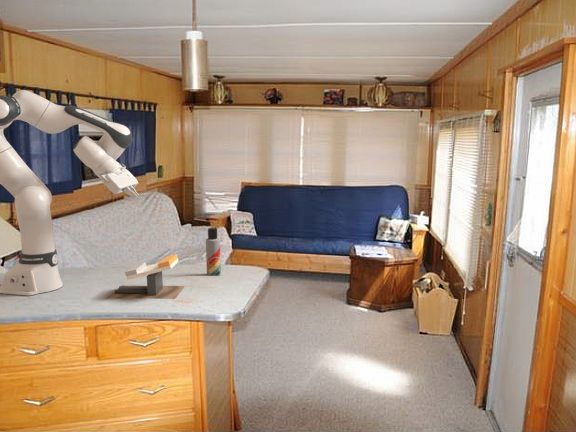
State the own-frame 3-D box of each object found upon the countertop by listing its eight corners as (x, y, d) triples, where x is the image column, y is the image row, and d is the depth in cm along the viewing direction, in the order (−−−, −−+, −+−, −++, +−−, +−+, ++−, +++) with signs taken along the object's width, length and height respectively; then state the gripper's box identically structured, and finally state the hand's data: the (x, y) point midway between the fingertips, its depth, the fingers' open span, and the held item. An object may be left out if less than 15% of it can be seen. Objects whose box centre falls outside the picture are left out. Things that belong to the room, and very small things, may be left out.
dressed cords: (114, 293, 173) (114, 290, 173) (120, 289, 178) (120, 285, 178) (148, 294, 173) (148, 290, 172) (153, 289, 178) (153, 285, 178)
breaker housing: (147, 295, 171) (146, 276, 170) (154, 288, 179) (153, 269, 178) (156, 295, 171) (155, 276, 170) (162, 288, 179) (162, 269, 178)
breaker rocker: (127, 279, 170) (124, 272, 169) (137, 271, 179) (135, 264, 179) (170, 268, 168) (168, 261, 168) (178, 261, 178) (176, 254, 178)
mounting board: (106, 302, 169) (106, 298, 169) (121, 289, 183) (121, 285, 183) (175, 302, 168) (175, 298, 168) (185, 289, 182) (185, 285, 182)
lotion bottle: (218, 277, 197) (216, 228, 194) (204, 276, 198) (203, 228, 195) (222, 273, 202) (221, 226, 199) (209, 272, 204) (208, 225, 200)
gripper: (103, 167, 176) (132, 194, 177) (125, 163, 196) (150, 188, 197) (92, 180, 177) (121, 206, 178) (114, 175, 197) (140, 199, 198)
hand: (136, 196), depth 188 cm, fingers closed
